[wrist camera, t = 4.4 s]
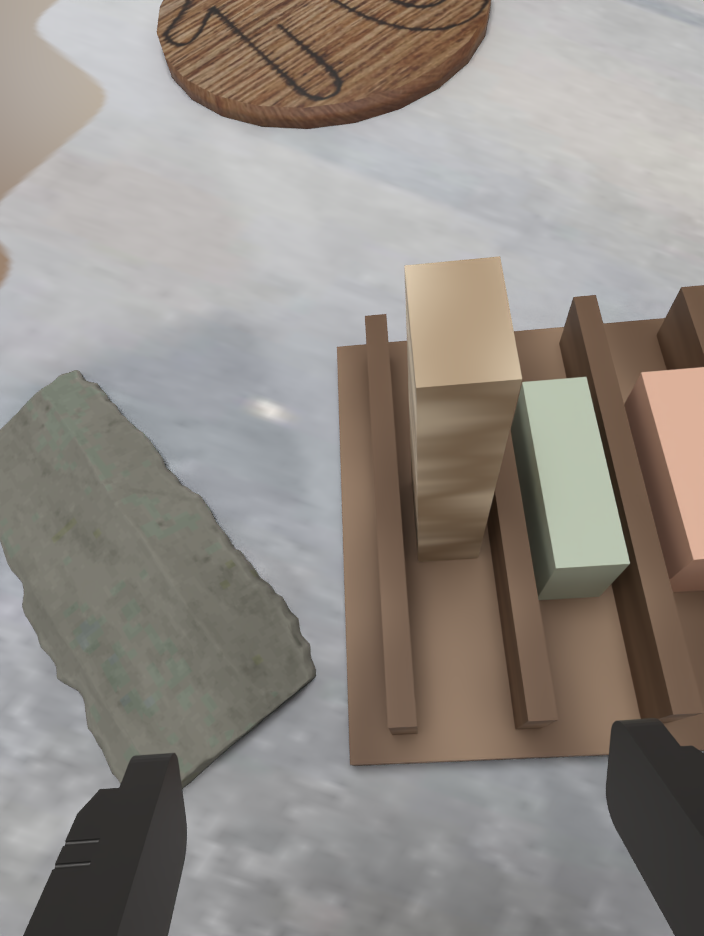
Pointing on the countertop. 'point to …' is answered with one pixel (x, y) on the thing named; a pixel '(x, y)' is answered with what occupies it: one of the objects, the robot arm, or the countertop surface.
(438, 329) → the tall wooden post
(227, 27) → the trivet
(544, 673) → the walnut rack
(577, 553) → the sage offcut
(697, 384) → the terracotta offcut
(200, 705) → the stone slab
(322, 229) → the countertop surface
